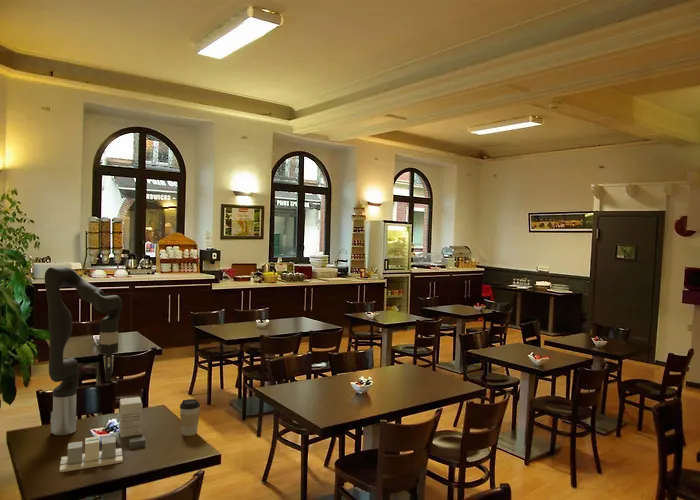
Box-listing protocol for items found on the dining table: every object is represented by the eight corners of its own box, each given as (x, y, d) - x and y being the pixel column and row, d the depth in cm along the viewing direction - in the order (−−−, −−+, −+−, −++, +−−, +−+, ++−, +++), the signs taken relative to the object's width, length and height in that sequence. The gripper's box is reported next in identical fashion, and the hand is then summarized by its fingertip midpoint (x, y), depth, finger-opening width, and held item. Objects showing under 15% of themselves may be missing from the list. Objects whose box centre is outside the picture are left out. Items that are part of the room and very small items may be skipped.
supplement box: (119, 430, 234) (119, 398, 234) (140, 427, 238) (140, 396, 238) (120, 437, 226) (120, 404, 226) (141, 434, 230) (142, 402, 230)
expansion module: (84, 461, 200) (85, 443, 199) (85, 455, 205) (85, 437, 205) (99, 459, 202) (99, 441, 202) (99, 453, 207) (99, 435, 207)
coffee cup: (201, 429, 239) (202, 397, 238) (196, 436, 230) (197, 404, 229) (182, 428, 238) (183, 397, 238) (176, 436, 229) (177, 403, 229)
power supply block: (130, 449, 216) (130, 442, 215) (129, 445, 219) (129, 438, 219) (145, 446, 218) (145, 439, 218) (144, 443, 222) (144, 436, 222)
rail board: (59, 472, 193) (59, 453, 193) (61, 459, 204) (61, 441, 204) (122, 462, 203) (122, 444, 203) (121, 450, 214) (121, 433, 213)
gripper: (99, 339, 224) (98, 378, 224) (99, 345, 212) (98, 386, 212) (117, 338, 227) (117, 376, 228) (118, 344, 215) (118, 384, 216)
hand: (108, 381), depth 220 cm, fingers closed
